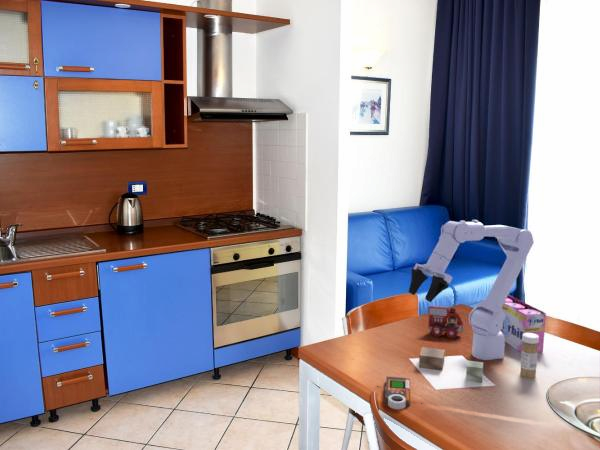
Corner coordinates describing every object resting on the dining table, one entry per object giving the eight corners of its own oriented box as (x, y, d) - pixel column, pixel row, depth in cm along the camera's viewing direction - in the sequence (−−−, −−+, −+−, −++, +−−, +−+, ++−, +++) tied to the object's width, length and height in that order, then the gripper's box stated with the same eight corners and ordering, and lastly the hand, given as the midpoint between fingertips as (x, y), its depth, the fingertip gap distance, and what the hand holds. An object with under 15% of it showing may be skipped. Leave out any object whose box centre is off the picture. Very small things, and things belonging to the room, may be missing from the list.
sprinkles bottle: (532, 374, 169) (535, 332, 167) (538, 381, 164) (541, 337, 162) (516, 374, 169) (519, 332, 167) (523, 381, 164) (526, 337, 162)
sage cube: (482, 376, 165) (483, 362, 165) (482, 383, 161) (482, 368, 160) (466, 374, 167) (467, 360, 166) (465, 380, 163) (466, 366, 162)
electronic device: (385, 400, 148) (386, 374, 162) (384, 411, 148) (386, 384, 163) (410, 403, 146) (410, 376, 161) (410, 413, 147) (409, 385, 161)
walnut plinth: (444, 361, 176) (444, 349, 175) (442, 370, 170) (442, 358, 169) (421, 358, 178) (422, 347, 178) (419, 367, 172) (419, 355, 171)
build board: (461, 357, 181) (461, 355, 181) (495, 387, 160) (495, 385, 160) (408, 361, 179) (408, 358, 178) (435, 392, 157) (435, 389, 157)
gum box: (484, 329, 208) (486, 294, 206) (503, 327, 210) (506, 293, 208) (523, 353, 185) (525, 314, 183) (544, 352, 187) (547, 313, 184)
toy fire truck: (462, 339, 197) (463, 311, 196) (426, 336, 201) (427, 308, 199) (462, 333, 204) (463, 305, 202) (427, 330, 207) (428, 303, 205)
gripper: (416, 246, 172) (395, 284, 170) (449, 256, 159) (427, 298, 158) (431, 256, 175) (410, 294, 174) (464, 267, 162) (442, 308, 161)
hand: (419, 297), depth 166 cm, fingers open, 7 cm apart
